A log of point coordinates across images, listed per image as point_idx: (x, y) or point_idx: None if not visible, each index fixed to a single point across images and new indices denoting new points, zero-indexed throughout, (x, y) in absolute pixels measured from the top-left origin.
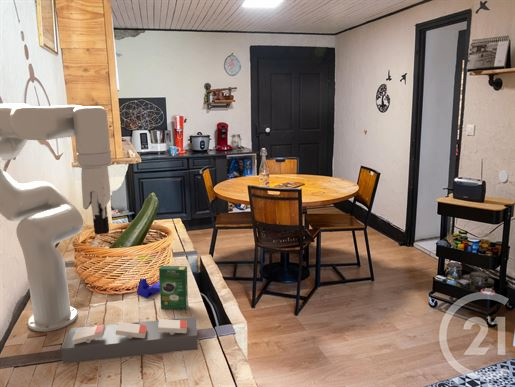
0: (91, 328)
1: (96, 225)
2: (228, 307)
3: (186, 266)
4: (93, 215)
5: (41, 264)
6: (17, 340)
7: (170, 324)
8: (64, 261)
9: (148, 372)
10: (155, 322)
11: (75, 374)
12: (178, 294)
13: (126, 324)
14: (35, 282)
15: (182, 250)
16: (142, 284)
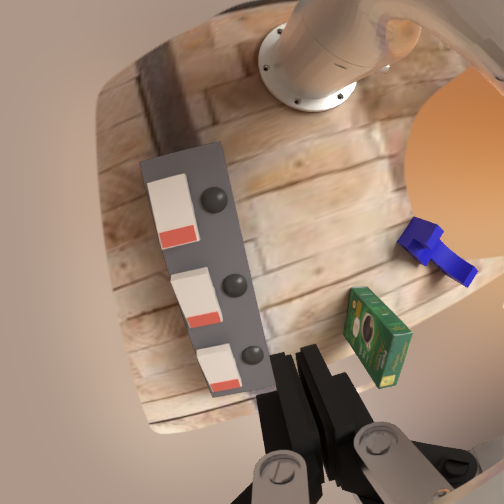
0: (186, 212)
1: (282, 409)
2: None
3: (395, 384)
4: (252, 496)
5: (316, 4)
6: (226, 31)
7: (216, 370)
8: (394, 61)
9: (142, 324)
10: (253, 323)
11: (120, 203)
12: (357, 339)
13: (205, 289)
14: (296, 9)
15: None
16: (419, 241)
